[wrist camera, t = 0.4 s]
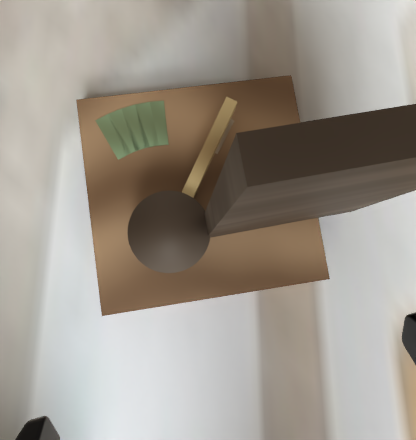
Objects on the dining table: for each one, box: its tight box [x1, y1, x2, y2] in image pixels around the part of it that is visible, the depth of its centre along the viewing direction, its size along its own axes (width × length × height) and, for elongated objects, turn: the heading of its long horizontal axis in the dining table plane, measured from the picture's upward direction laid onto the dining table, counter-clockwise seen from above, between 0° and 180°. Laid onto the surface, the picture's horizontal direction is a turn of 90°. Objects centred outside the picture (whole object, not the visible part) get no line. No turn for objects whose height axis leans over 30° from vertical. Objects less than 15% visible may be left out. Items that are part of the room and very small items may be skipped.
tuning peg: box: [127, 97, 416, 273], centre depth 15 cm, size 9×13×14 cm
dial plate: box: [77, 75, 330, 316], centre depth 23 cm, size 13×14×2 cm
